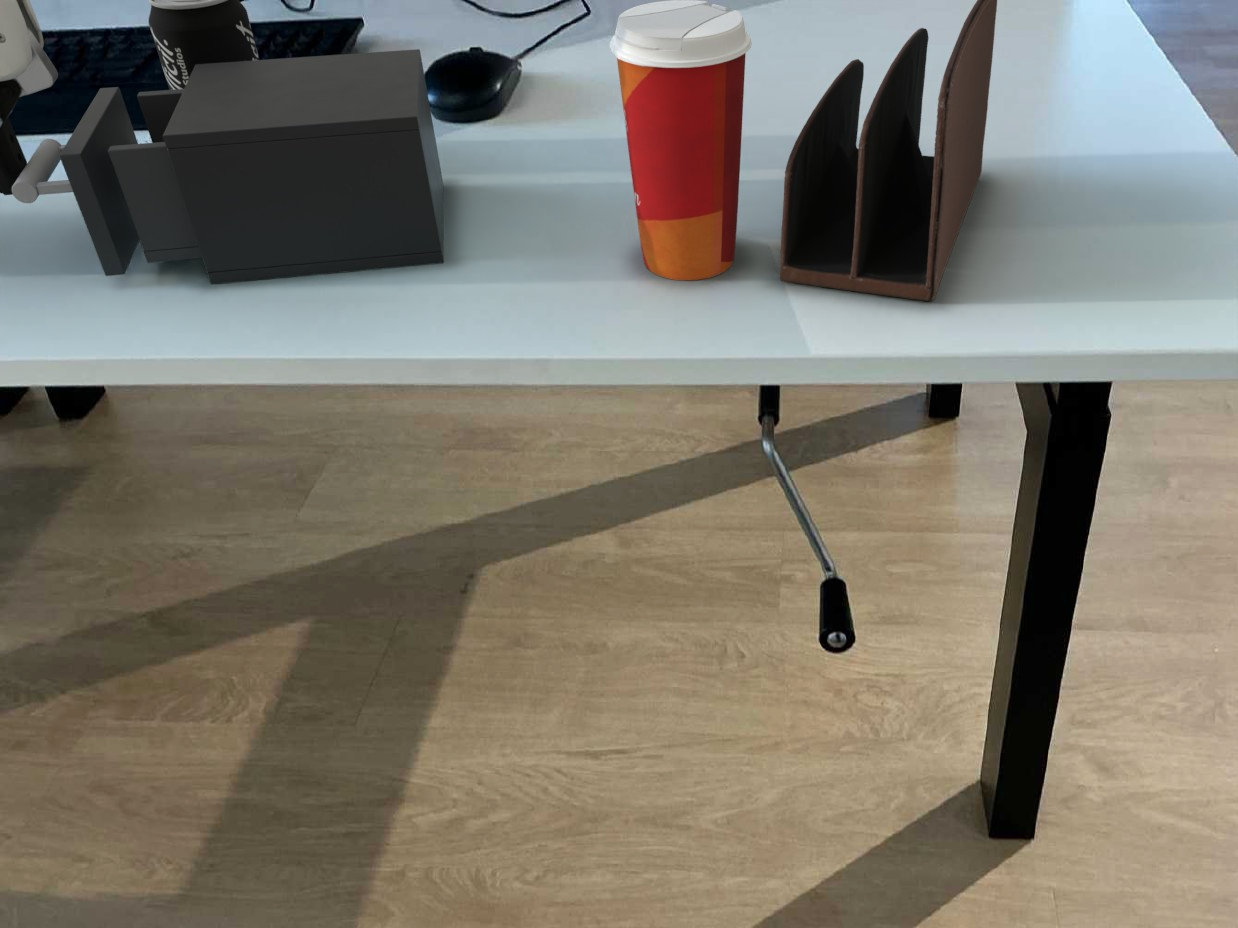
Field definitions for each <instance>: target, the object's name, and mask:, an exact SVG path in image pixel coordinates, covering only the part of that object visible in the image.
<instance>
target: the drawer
mask: <svg viewBox="0 0 1238 928" xmlns="http://www.w3.org/2000/svg"><path fill="white" fill-rule="evenodd" d="M183 91H184V89H176V90H169V89H164V90H150V91H139V92H138V93H137V95H136V98H137V101H138V104H139V107H140V110H141V113H142V116H143V119H144V122H145V125H146V128H147V131H148V133H149V137H150V141H151V142H145V143H139V141H138V139H137V136H136V133H135V130H134V127H133V125H132V122H131V118H130V115H129V113H128V109H127V107H126V104H125V100H124V98H123V94H122V91H121V89H120V87H119V86H115V87H101V88H99V90H98V92H96V95H95V97H94V98H93V100H92V101H91V103H90V104H89V106H88V107H87V110H86V111H85V112H84V114H83V116H82V117H81V120H80V121H79V123H78V124H77V125H76V127H75V129H74V131H73V132H72V134H71V135H70V137H69V138H68V140H67V142H66V144H61V143H60V142H59V141H58V140H56V139H54V138H45V139H43V140H41V141H40V143H39V145H38V146H37V148H36V149H35V151H34V153H33V154H32V155H31V157H30V159H29V160H28V161H27V165H26V166H25V168H24V169H23V171H22V172H21V174H20V175H19V177H18V178H17V180H16V181H15V183H14V184H13V186H12V193H13V195H12V196H13V197H14V198H15V199H16V200H17V201H18V202H21V203H22V204H33V203H35V202H36V201H37V200H38V198H39V197H40V196H42V195H43V196H44V195H54V194H55V195H56V194H67V193H68V194H69V193H73V196H74V198H75V200H76V203H77V206H78V208H79V211H80V214H81V217H82V218H83V221H84V224H85V226H86V229H87V232H88V235H89V237H90V239H91V242H92V245H93V247H94V250H95V253H96V255H97V258H98V260H99V263H100V265H101V267H102V271H103V274H104V276H105V277H112V276H122V275H126V272H127V271H128V269H129V266H130V264H131V261H132V259H133V256H134V254H135V251H136V249H137V247H138V245H139V242H140V245H141V248H142V250H143V254H144V257H145V259H146V262H147V264H151V263H162V262H163V263H165V262H173V261H185V260H197V259H202V256H201V253H200V249H199V246H198V243H197V240H196V237H195V234H194V231H193V228H192V225H191V222H190V219H189V215H188V212H187V209H186V206H185V203H184V200H183V197H182V194H181V191H180V188H179V185H178V182H177V178H176V175H175V172H174V169H173V166H172V163H171V160H170V157H169V154H168V151H167V148H166V145H165V142H164V139H163V134H164V132H165V130H166V128H167V125H168V123H169V121H170V119H171V117H172V115H173V112H174V110H175V108H176V106H177V104H178V102H179V99H180V97H181V95H182V93H183ZM60 162H61V164H62V167H63V170H64V172H65V174H66V178H67V179H63V180H62V179H61V180H51V181H49V179H50V178H51V177H52V175H53V173H54V172H55V170H56V168H57V167H58V165H59V164H60Z"/></svg>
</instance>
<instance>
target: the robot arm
mask: <svg viewBox="0 0 1238 928" xmlns="http://www.w3.org/2000/svg"><path fill="white" fill-rule="evenodd" d="M44 45H45V43H44V37H43V32H42V29H41V27H40V24H39V21H38V18H37V15H36V12H35V11H34V8H33V6H32V4H31V1H30V0H0V194H3V195H4V196H14V195H13V193H12V186H13V184H14V183H15V181H16V180H17V178H18V177H19V175H20V174H21V172H22V171H23V169H24V168H25V166H26V165H27V163H28V161H27V158H26V156H25V154H24V152H23V149H22V147H21V144H20V142H19V139H18V137H17V134H16V132H15V130H14V128H13V125H12V123H11V119H10V118H9V117H10V115H11V114H12V112H13V110H14V108H15V107H16V106H17V103H18V102H19V100H20V98H21V97H24V96H29V95H32V94H34V93H37V92H40V91H44V90H46V89H49V88H51V87H52V86H53V85H54V83H56V81H57V79H58V78H59V72H58V70H57V68H56V67H55V65H54V64H53V62H52V61H51V58H49V56H48V55H47V52H45V50H44V47H45V46H44Z"/></svg>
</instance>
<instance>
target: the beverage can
mask: <svg viewBox="0 0 1238 928" xmlns="http://www.w3.org/2000/svg"><path fill="white" fill-rule="evenodd" d="M148 3H149V4H150V10H149V11H150V12H149V16H148V25H149V29H150V32H151V35H152V39H153V42H154V46H155V48H156V51H157V55H158V56H159V60H160V64H161V68H162V70H163V73H164V77H165V81H166V83H167V87H168V90H176V89H185V86H186V84H187V82H188V80H189V78H190V76H191V73H192V71H193V69H194V67H195V65H196V64H209V63H224V62H239V61H254V60H260V57H259V53H258V49H257V45H256V42H255V36H254V33H253V30H252V25H251V22H250V18H249V14H248V11H247V9H246V7H245V6H244V5H243V3H241V1H240V0H148Z"/></svg>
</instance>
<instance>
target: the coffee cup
mask: <svg viewBox="0 0 1238 928" xmlns="http://www.w3.org/2000/svg"><path fill="white" fill-rule="evenodd" d="M731 10H732V9H731V8H729V7H726V6H723V5H720V4H716V3H711V4H710V2H709V1H707V0H662V1H661V0H660V1H653V2H649V3H644V4H640V5H639V4H638V5H636V6H634V7H633V6H632V7H631V8H628V9H627V10H625V11H623V12H621V13H620V14H619V16H618V18H617V20H616V28H615V32H614V34H613V36H612V37H611V39H610V42H609V50H610V51H611V53H612V54H613V55H614V56H615V57H616V61H617V70H618V78H619V86H620V93H621V102H622V109H623V117H624V127H625V134H626V143H627V149H628V150H627V151H628V157H629V166H630V173H631V181H632V190H633V196H634V197H633V198H634V206H635V213H636V219H637V227H638V234H639V240H640V248H641V254H642V260H643V264H644V266H645V268H646V269H647V270H648V271H650V272H651V273H653V274H654V275H656V276H659V277H662V278H666V279H670V280H675V281H697V280H704V279H705V280H706V279H709V278H713V277H715V276H718V275H721V274H722V273H724V272H726V271H727V270H728V269H730V267H732V265H733V263H734V260H735V251H736V242H737V230H738V229H737V227H738V226H737V225H738V213H739V212H738V211H739V195H740V194H739V191H740V174H741V156H742V155H741V154H742V136H743V135H742V133H743V115H744V114H743V113H744V95H745V72H746V56H747V55H746V54H747V52H749V51H750V49H751V48H752V45H753V44H752V43H753V41H752V38H751V36H750V34H749V33H748V31H746V25H745V20H744V17H743V15H742V14H741V12H740V11H739V10H737V9H735V10H732V11H731Z"/></svg>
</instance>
